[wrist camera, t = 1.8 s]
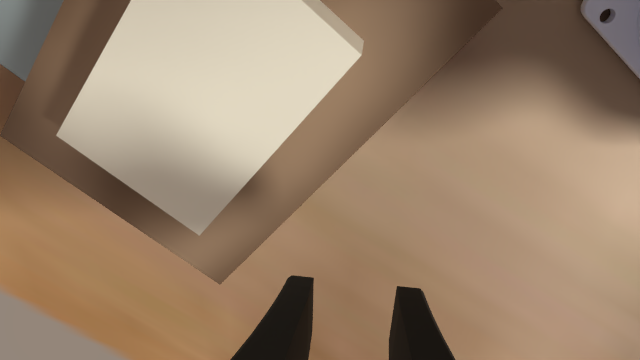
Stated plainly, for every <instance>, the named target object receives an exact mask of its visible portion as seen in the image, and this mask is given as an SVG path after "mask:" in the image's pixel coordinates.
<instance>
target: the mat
mask: <svg viewBox="0 0 640 360" xmlns="http://www.w3.org/2000/svg"><path fill="white" fill-rule="evenodd" d="M63 1H64V0H0V64H1V65H3V66H4V67H5V68H7V69H8V70H10V71H11V72H12V73H14V74H15V75H17V76H18V77H19V78H21V79H22V80H24V81H26V79H27V77H28V75H29V73H30V71H31V69H32V66H33V64H34V62H35V60H36V58H37V56H38V54H39V52H40V49H41V47H42V45H43V43H44V41H45V39H46V37H47V35H48V32H49V30H50V28H51V26H52V24H53V22H54V20H55V18H56V15H57V13H58V11H59V9H60V7H61V5H62V3H63Z"/></svg>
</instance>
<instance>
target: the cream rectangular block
mask: <svg viewBox="0 0 640 360" xmlns="http://www.w3.org/2000/svg"><path fill="white" fill-rule="evenodd" d="M363 43H364V40H363V39H361V38H360V37H359V36H358V35H357V34H356V33H355V32H354V31H353V30H352V29H351V28H350V27H348V26H347V25H346V24H345V23H344V22H343V21H342V20H341V19H340V18H339V17H338V16H337V15H335V14H334V13H333V12H332V11H331V10H330V9H329V8H328V7H327V6H326V5H325V4H324V3H322V2H321V1H320V0H131V1H130V3H129V5H128V7H127V8H126V10H125V12H124V14H123V16H122V17H121V19H120V21H119V23H118V25H117V26H116V28H115V30H114V32H113V34H112V35H111V37H110V39H109V41H108V43H107V44H106V46H105V48H104V50H103V52H102V53H101V55H100V57H99V59H98V61H97V62H96V64H95V66H94V68H93V70H92V71H91V73H90V75H89V77H88V79H87V81H86V82H85V84H84V86H83V88H82V90H81V91H80V93H79V95H78V97H77V99H76V100H75V102H74V104H73V106H72V108H71V109H70V111H69V113H68V115H67V117H66V118H65V120H64V122H63V124H62V126H61V127H60V129H59V131H58V133H57V135H56V136H57V137H59V138H60V139H62V140H63V141H65V142H66V143H67V144H69V145H70V146H72V147H73V148H75V149H76V150H77V151H79V152H80V153H82V154H83V155H85V156H86V157H87V158H89V159H90V160H92V161H93V162H95V163H96V164H97V165H99V166H100V167H102V168H103V169H105V170H106V171H107V172H109V173H110V174H112V175H113V176H115V177H116V178H118V179H119V180H120V181H122V182H123V183H125V184H126V185H128V186H129V187H130V188H132V189H133V190H135V191H136V192H138V193H139V194H140V195H142V196H143V197H145V198H146V199H148V200H149V201H150V202H152V203H153V204H155V205H156V206H158V207H159V208H160V209H162V210H163V211H165V212H166V213H168V214H169V215H170V216H172V217H173V218H175V219H176V220H178V221H179V222H180V223H182V224H183V225H185V226H186V227H188V228H189V229H190V230H192V231H193V232H195V233H196V234H198V235H199V236H200V234H201V233H202V232H203V231H204V230H205V229H206V228H207V227H208V225H209V224H210V223H211V222H212V221H213V220H214V219H215V218H216V217H217V215H218V214H219V213H220V212H221V211H222V210H223V209H224V208H225V207H226V205H227V204H228V203H229V202H230V201H231V200H232V199H233V198H234V197H235V195H236V194H237V193H238V192H239V191H240V190H241V189H242V188H243V187H244V185H245V184H246V183H247V182H248V181H249V180H250V179H251V178H252V177H253V175H254V174H255V173H256V172H257V171H258V170H259V169H260V168H261V167H262V165H263V164H264V163H265V162H266V161H267V160H268V159H269V158H270V157H271V155H272V154H273V153H274V152H275V151H276V150H277V149H278V148H279V147H280V145H281V144H282V143H283V142H284V141H285V140H286V139H287V138H288V137H289V135H290V134H291V133H292V132H293V131H294V130H295V129H296V128H297V127H298V125H299V124H300V123H301V122H302V121H303V120H304V119H305V118H306V117H307V115H308V114H309V113H310V112H311V111H312V110H313V109H314V108H315V107H316V105H317V104H318V103H319V102H320V101H321V100H322V99H323V98H324V97H325V95H326V94H327V93H328V92H329V91H330V90H331V89H332V88H333V86H334V85H335V84H336V83H337V82H338V81H339V80H340V79H341V78H342V76H343V75H344V74H345V73H346V72H347V71H348V70H349V69H350V68H351V66H352V65H353V64H354V63H355V62H356V61H357V60H358V59H359V58H360V56H361V55H362V50H363Z"/></svg>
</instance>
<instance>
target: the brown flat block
mask: <svg viewBox="0 0 640 360" xmlns="http://www.w3.org/2000/svg"><path fill="white" fill-rule="evenodd" d="M130 1H131V0H64V1H63V3H62V5H61V7H60V9H59V11H58V13H57V15H56V18H55V20H54V22H53V24H52V26H51V28H50V30H49V32H48V35H47V37H46V39H45V41H44V43H43V45H42V47H41V49H40V52H39V54H38V56H37V58H36V60H35V62H34V64H33V66H32V69H31V71H30V73H29V75H28V77H27V79H26V81H25V83H24V86H23V88H22V90H21V92H20V94H19V96H18V98H17V100H16V102H15V105H14V107H13V109H12V111H11V113H10V115H9V117H8V119H7V122H6V124H5V126H4V128H3V130H2V132H1V134H0V136H1V137H3V138H4V139H6V140H7V141H9V142H10V143H12V144H13V145H14V146H16V147H17V148H19V149H20V150H22V151H23V152H25V153H26V154H28V155H29V156H31V157H32V158H34V159H35V160H37V161H38V162H40V163H41V164H43V165H44V166H46V167H47V168H48V169H50V170H51V171H53V172H54V173H56V174H57V175H59V176H60V177H62V178H63V179H65V180H66V181H68V182H69V183H71V184H72V185H74V186H75V187H77V188H78V189H79V190H81V191H82V192H84V193H85V194H87V195H88V196H90V197H91V198H93V199H94V200H96V201H97V202H99V203H100V204H102V205H103V206H105V207H106V208H108V209H109V210H111V211H112V212H113V213H115V214H116V215H118V216H119V217H121V218H122V219H124V220H125V221H127V222H128V223H130V224H131V225H133V226H134V227H136V228H137V229H139V230H140V231H142V232H143V233H144V234H146V235H147V236H149V237H150V238H152V239H153V240H155V241H156V242H158V243H159V244H161V245H162V246H164V247H165V248H167V249H168V250H170V251H171V252H173V253H174V254H176V255H177V256H178V257H180V258H181V259H183V260H184V261H186V262H187V263H189V264H190V265H192V266H193V267H195V268H196V269H198V270H199V271H201V272H202V273H204V274H205V275H207V276H208V277H209V278H211V279H212V280H214V281H215V282H217V283H218V284H221V283H222V282H223V281H224V280H225V279H226V278H227V277H228V276H229V275H230V274H231V273H232V272H233V271H234V270H235V269H236V268H237V267H238V266H239V265H240V264H242V263H243V262H244V261H245V260H246V259H247V258H248V257H249V256H250V255H251V254H252V253H253V252H254V251H255V250H256V249H257V248H258V247H259V246H260V245H261V244H262V243H263V242H264V241H265V240H266V239H267V238H268V237H269V236H270V235H271V234H272V233H273V232H274V231H275V230H276V229H277V228H278V227H279V226H280V225H281V224H282V223H283V222H284V221H285V220H286V219H287V218H289V217H290V216H291V215H292V214H293V213H294V212H295V211H296V210H297V209H298V208H299V207H300V206H301V205H302V204H303V203H304V202H305V201H306V200H307V199H308V198H309V197H310V196H311V195H312V194H313V193H314V192H315V191H316V190H317V189H318V188H319V187H320V186H321V185H322V184H323V183H324V182H325V181H326V180H327V179H328V178H329V177H330V176H331V175H332V174H333V173H334V172H336V171H337V170H338V169H339V168H340V167H341V166H342V165H343V164H344V163H345V162H346V161H347V160H348V159H349V158H350V157H351V156H352V155H353V154H354V153H355V152H356V151H357V150H358V149H359V148H360V147H361V146H362V145H363V144H364V143H365V142H366V141H367V140H368V139H369V138H370V137H371V136H372V135H373V134H374V133H375V132H376V131H377V130H378V129H379V128H380V127H381V126H383V125H384V124H385V123H386V122H387V121H388V120H389V119H390V118H391V117H392V116H393V115H394V114H395V113H396V112H397V111H398V110H399V109H400V108H401V107H402V106H403V105H404V104H405V103H406V102H407V101H408V100H409V99H410V98H411V97H412V96H413V95H414V94H415V93H416V92H417V91H418V90H419V89H420V88H421V87H422V86H423V85H424V84H425V83H426V82H427V81H429V80H430V79H431V78H432V77H433V76H434V75H435V74H436V73H437V72H438V71H439V70H440V69H441V68H442V67H443V66H444V65H445V64H446V63H447V62H448V61H449V60H450V59H451V58H452V57H453V56H454V55H455V54H456V53H457V52H458V51H459V50H460V49H461V48H462V47H463V46H464V45H465V44H466V43H467V42H468V41H469V40H470V39H471V38H472V37H473V36H474V35H476V34H477V33H478V32H479V31H480V30H481V29H482V28H483V27H484V26H485V25H486V24H487V23H488V22H489V21H490V20H491V19H492V18H493V17H494V16H495V15H496V14H497V13H498V12H499V11H500V10H501V9H502V7H501V6H500V5H499V4H498V3H497V2H496V1H495V0H320V1H321V2H322V3H324V4H325V5H326V6H327V7H328V8H329V9H330V10H331V11H332V12H333V13H334V14H335V15H337V16H338V17H339V18H340V19H341V20H342V21H343V22H344V23H345V24H346V25H347V26H348V27H350V28H351V29H352V30H353V31H354V32H355V33H356V34H357V35H358V36H359V37H360V38H361V39H363V40H364V43H363V50H362V55H361V56H360V58H359V59H358V60H357V61H356V62H355V63H354V64H353V65H352V66H351V68H350V69H349V70H348V71H347V72H346V73H345V74H344V75H343V76H342V78H341V79H340V80H339V81H338V82H337V83H336V84H335V85H334V86H333V88H332V89H331V90H330V91H329V92H328V93H327V94H326V95H325V97H324V98H323V99H322V100H321V101H320V102H319V103H318V104H317V105H316V107H315V108H314V109H313V110H312V111H311V112H310V113H309V114H308V115H307V117H306V118H305V119H304V120H303V121H302V122H301V123H300V124H299V125H298V127H297V128H296V129H295V130H294V131H293V132H292V133H291V134H290V135H289V137H288V138H287V139H286V140H285V141H284V142H283V143H282V144H281V145H280V147H279V148H278V149H277V150H276V151H275V152H274V153H273V154H272V155H271V157H270V158H269V159H268V160H267V161H266V162H265V163H264V164H263V165H262V167H261V168H260V169H259V170H258V171H257V172H256V173H255V174H254V175H253V177H252V178H251V179H250V180H249V181H248V182H247V183H246V184H245V185H244V187H243V188H242V189H241V190H240V191H239V192H238V193H237V194H236V195H235V197H234V198H233V199H232V200H231V201H230V202H229V203H228V204H227V205H226V207H225V208H224V209H223V210H222V211H221V212H220V213H219V214H218V215H217V217H216V218H215V219H214V220H213V221H212V222H211V223H210V224H209V225H208V227H207V228H206V229H205V230H204V231H203V232H202V233H201V234H200V236H199V235H198V234H196V233H195V232H193V231H192V230H190V229H189V228H188V227H186V226H185V225H183V224H182V223H180V222H179V221H178V220H176V219H175V218H173V217H172V216H170V215H169V214H168V213H166V212H165V211H163V210H162V209H160V208H159V207H158V206H156V205H155V204H153V203H152V202H150V201H149V200H148V199H146V198H145V197H143V196H142V195H140V194H139V193H138V192H136V191H135V190H133V189H132V188H130V187H129V186H128V185H126V184H125V183H123V182H122V181H120V180H119V179H118V178H116V177H115V176H113V175H112V174H110V173H109V172H107V171H106V170H105V169H103V168H102V167H100V166H99V165H97V164H96V163H95V162H93V161H92V160H90V159H89V158H87V157H86V156H85V155H83V154H82V153H80V152H79V151H77V150H76V149H75V148H73V147H72V146H70V145H69V144H67V143H66V142H65V141H63V140H62V139H60V138H59V137H57V136H56V135H57V133H58V131H59V129H60V127H61V126H62V124H63V122H64V120H65V118H66V117H67V115H68V113H69V111H70V109H71V108H72V106H73V104H74V102H75V100H76V99H77V97H78V95H79V93H80V91H81V90H82V88H83V86H84V84H85V82H86V81H87V79H88V77H89V75H90V73H91V71H92V70H93V68H94V66H95V64H96V62H97V61H98V59H99V57H100V55H101V53H102V52H103V50H104V48H105V46H106V44H107V43H108V41H109V39H110V37H111V35H112V34H113V32H114V30H115V28H116V26H117V25H118V23H119V21H120V19H121V17H122V16H123V14H124V12H125V10H126V8H127V7H128V5H129V3H130Z"/></svg>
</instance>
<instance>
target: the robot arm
mask: <svg viewBox="0 0 640 360" xmlns="http://www.w3.org/2000/svg"><path fill="white" fill-rule="evenodd" d="M606 9H610V11H611V13H610V16H609V18H608V19H607V20H605V21H604V22H601V21H600V15H601V13H602V12H603V11H604V10H606ZM581 13H582V15H583V16H584V18H585V19H586V20H587V21H588V22H589V23H590V24H591V25H592V27H593V28H594V29H595V30H596V31H597V32H598V33H599V34H600V36H601V37H602V38H603V39H604V40H605V41H606V42H607V43H608V44H609V46H610V47H611V48H612V49H613V50H614V51H615V52H616V53H617V55H618V56H619V57H620V58H621V59H622V60H623V61H624V62H625V64H626V65H627V66H628V67H629V68H630V69H631V70H632V71H633V72H634V74H635V75H636V76H637V77H638V78H639V79H640V0H583V2H582V5H581ZM313 281H314V278H311V277H301V276H290V277H289V278H288V279H287V281H286V283H285V285H284V286H283V288H282V290H281V292H280V293H279V295H278V297H277V298H276V300H275V301H274V303H273V304H272V306H271V307H270V309H269V310H268V312H267V313H266V315H265V316H264V317H263V319H262V320H261V322H260V323H259V324H258V326H257V327H256V328H255V330H254V331H253V333H252V334H251V335H250V336H249V338H248V339H247V340H246V341H245V343H244V344H243V345H242V346H241V347H240V349H239V350H238V351H237V352H236V354H235V355H234V356H233V357H232V358H231V360H308V357H309V350H310V343H311V336H312V320H313ZM389 360H455V358H454V356H453V354H452V353H451V351H450V349H449V347H448V345H447V343H446V342H445V340H444V338H443V336H442V334H441V332H440V330H439V328H438V326H437V323H436V321H435V319H434V317H433V315H432V313H431V310H430V308H429V306H428V303H427V301H426V298H425V295H424V293H423V291H422V290H421V289H420V288H410V287H400V286H397V290H396V296H395V303H394V310H393V317H392V323H391V330H390V337H389Z"/></svg>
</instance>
